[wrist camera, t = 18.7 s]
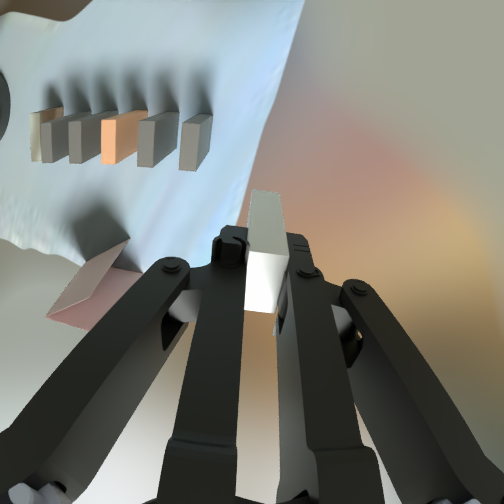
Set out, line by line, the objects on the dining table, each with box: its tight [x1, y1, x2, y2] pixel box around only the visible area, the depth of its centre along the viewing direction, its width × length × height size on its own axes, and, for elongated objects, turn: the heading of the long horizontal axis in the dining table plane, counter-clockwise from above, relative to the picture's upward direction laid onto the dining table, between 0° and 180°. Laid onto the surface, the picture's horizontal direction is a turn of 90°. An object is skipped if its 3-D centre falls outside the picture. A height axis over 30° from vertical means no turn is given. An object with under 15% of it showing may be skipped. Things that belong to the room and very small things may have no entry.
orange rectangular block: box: [101, 110, 148, 164], centre depth 33 cm, size 2×5×10 cm, turn 172°
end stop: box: [30, 107, 63, 161], centre depth 34 cm, size 2×7×6 cm, turn 172°
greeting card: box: [45, 239, 143, 331], centre depth 41 cm, size 11×7×15 cm, turn 80°
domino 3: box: [137, 112, 179, 168], centre depth 33 cm, size 2×5×10 cm, turn 172°
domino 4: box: [179, 114, 213, 172], centre depth 33 cm, size 2×5×10 cm, turn 172°
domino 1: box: [41, 111, 91, 163], centre depth 32 cm, size 2×5×10 cm, turn 172°
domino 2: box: [69, 111, 118, 164], centre depth 33 cm, size 2×5×10 cm, turn 172°
